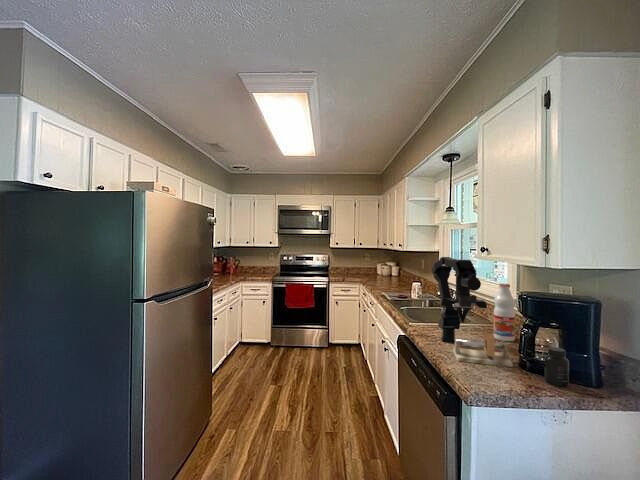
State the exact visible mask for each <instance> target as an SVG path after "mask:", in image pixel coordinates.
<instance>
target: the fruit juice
mask: <svg viewBox="0 0 640 480" xmlns="http://www.w3.org/2000/svg"><path fill="white" fill-rule="evenodd" d="M498 287H499V289H498V290H497V293H496V295H495V297H494V301H493V302H494V303H493V304H494V308H493V336H494V338H495V340H499V341H503V342H514V341H515V340H516V339H515V338H516V310H515V304H516V301H515V298H514V297H513V295H512V292H511V289H510V288H511V284H509V283H499V284H498Z"/></svg>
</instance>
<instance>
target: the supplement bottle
mask: <svg viewBox="0 0 640 480" xmlns="http://www.w3.org/2000/svg"><path fill="white" fill-rule="evenodd" d="M547 349H548V353H549V354H548V355H546V356H545V367H544V374H543V375H544V381H545V382H546V383H547V384H549V385H551V386H553V387H556V388H557V387H558V388H568V387H569V386H570V361H569V359H568V358H567V357H566V355H567V353H566V350H565V349H564V348H561V347H557V346H549V347H548V348H547Z"/></svg>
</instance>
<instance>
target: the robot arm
mask: <svg viewBox="0 0 640 480" xmlns="http://www.w3.org/2000/svg"><path fill="white" fill-rule="evenodd" d="M452 270H453V271H454V272H455V274H454V277H455V300H454V299H452V294H451V291H450V290H451V289H450V285H449V278H450V276H451V272H452ZM431 273H432V274H433V278H434V280H435V281H436V282H437V283H438V288H439V294H440V295H439V296H440V299H439V305H440V306H442V311H441V313H440V319H439V320H438V321H437V322H438V323H437V326H438V328H440V329H441V330H442V333H441V334H442V336H441V337H440V339H441V342H443V343H451V344H452V343H454V344H455V338H456V336H455V335H456V330H460V327H461V323H464V322H465V319H466V317H467V315H468V313H469V311H470V310H473V306H477V308H479V309H487V308H488V304H487V302H486V301H485V300H484V299H477V295H474V294H473V295H472V294H471V291H473V292H474V291H477V290H480V288H481V286H482V283H481V279H480V278H478V277H477V270H476V269H475V267H474V264H473V262H472V260H470V259H456V258H452V257H450V256H442V257H440V258H439V260H437V261H436V262H434V263H433V266H432V269H431Z"/></svg>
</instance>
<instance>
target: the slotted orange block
mask: <svg viewBox="0 0 640 480" xmlns="http://www.w3.org/2000/svg"><path fill="white" fill-rule="evenodd" d="M483 342H487V348H483V351H485V352H486V354H487V355H488V356H493V357H495V352H496V349H495V343H496V338H494V334H492V333H490V332H483Z"/></svg>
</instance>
